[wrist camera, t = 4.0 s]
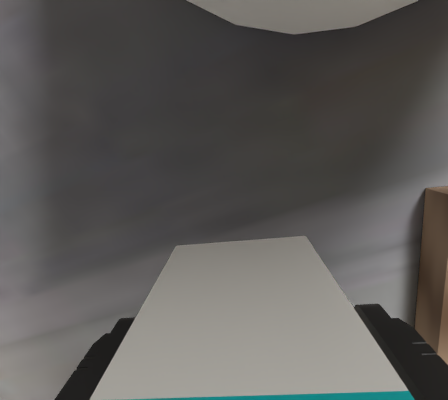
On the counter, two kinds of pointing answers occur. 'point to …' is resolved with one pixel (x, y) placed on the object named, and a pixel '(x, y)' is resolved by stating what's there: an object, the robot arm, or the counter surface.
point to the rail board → (434, 273)
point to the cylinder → (300, 13)
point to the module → (248, 331)
